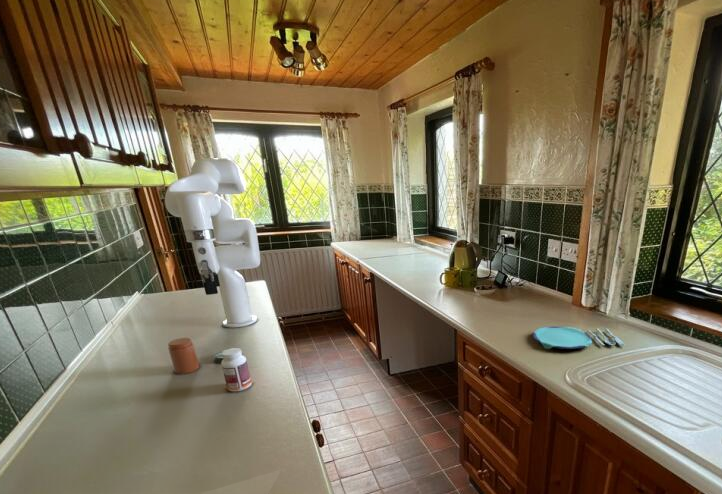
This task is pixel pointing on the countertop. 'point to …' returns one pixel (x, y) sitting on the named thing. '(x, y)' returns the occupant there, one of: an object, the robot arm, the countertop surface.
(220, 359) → the jar lid
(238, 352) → the pill bottle
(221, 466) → the countertop surface
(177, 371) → the jam jar
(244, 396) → the countertop surface
